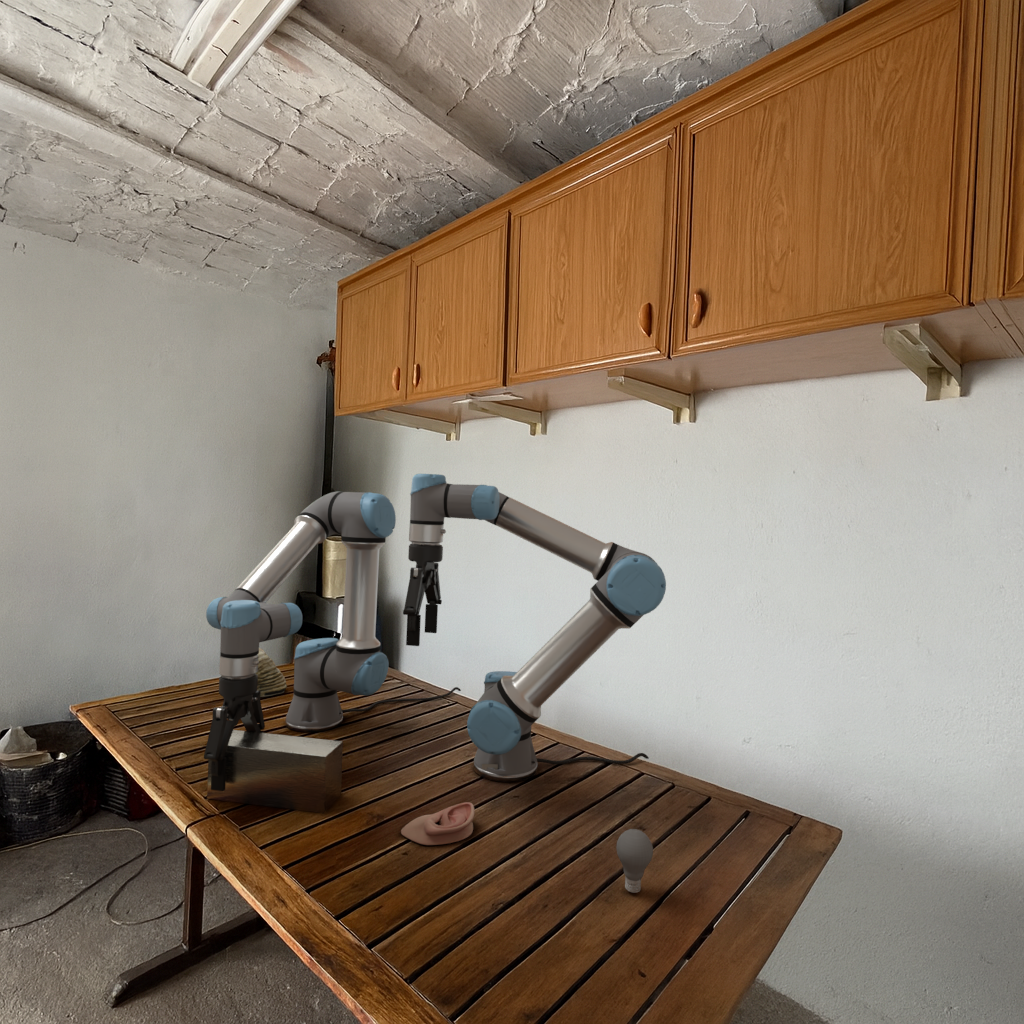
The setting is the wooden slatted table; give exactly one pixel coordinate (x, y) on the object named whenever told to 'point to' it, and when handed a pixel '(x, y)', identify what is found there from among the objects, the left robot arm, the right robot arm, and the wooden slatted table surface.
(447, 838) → the anatomical model
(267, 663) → the fossil
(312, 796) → the box
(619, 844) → the light bulb
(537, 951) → the wooden slatted table surface
